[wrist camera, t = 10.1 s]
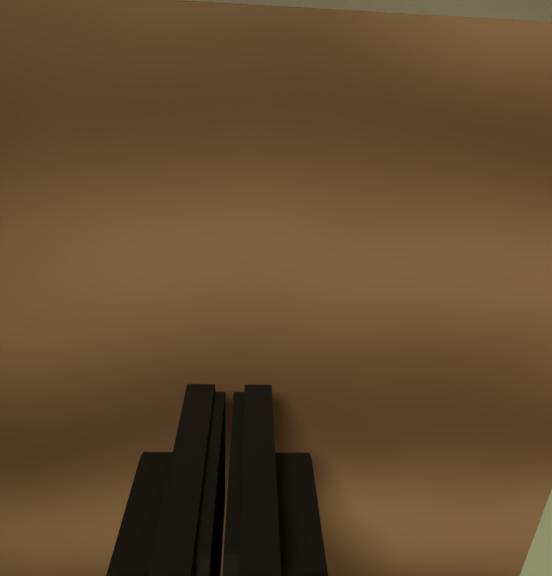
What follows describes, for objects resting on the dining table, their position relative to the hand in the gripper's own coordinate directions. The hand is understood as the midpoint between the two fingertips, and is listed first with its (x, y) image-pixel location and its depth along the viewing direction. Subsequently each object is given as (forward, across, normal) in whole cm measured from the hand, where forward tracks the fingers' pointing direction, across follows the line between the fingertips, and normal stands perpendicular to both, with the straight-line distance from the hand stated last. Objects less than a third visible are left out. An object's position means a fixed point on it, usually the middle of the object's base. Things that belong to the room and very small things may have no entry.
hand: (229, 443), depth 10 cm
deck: (+5, 0, 0) cm, 5 cm away
